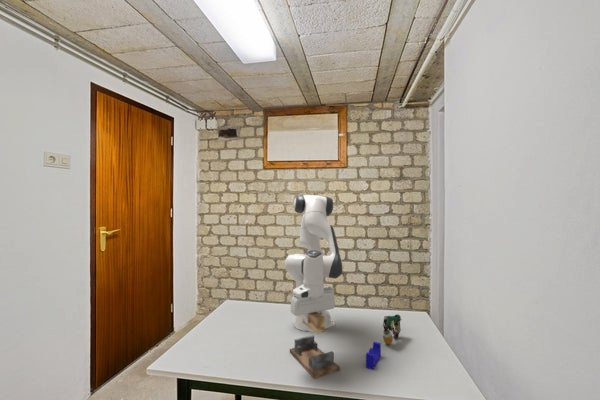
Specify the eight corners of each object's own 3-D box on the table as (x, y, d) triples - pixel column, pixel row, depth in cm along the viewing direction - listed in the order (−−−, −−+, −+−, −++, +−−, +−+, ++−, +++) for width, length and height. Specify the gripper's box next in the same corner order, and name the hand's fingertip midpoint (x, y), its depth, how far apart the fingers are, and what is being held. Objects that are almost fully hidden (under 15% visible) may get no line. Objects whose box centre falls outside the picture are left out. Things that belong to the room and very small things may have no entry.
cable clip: (370, 354, 134) (370, 340, 134) (380, 356, 132) (380, 343, 132) (362, 367, 124) (362, 353, 124) (373, 370, 122) (373, 355, 122)
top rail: (310, 320, 134) (310, 307, 134) (324, 331, 124) (324, 317, 124) (302, 322, 133) (302, 309, 133) (316, 333, 122) (316, 318, 122)
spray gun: (403, 336, 151) (404, 307, 150) (388, 350, 138) (388, 319, 137) (395, 333, 154) (395, 305, 152) (379, 347, 141) (379, 316, 140)
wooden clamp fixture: (312, 346, 141) (312, 332, 141) (339, 370, 121) (339, 354, 121) (289, 352, 135) (289, 337, 135) (313, 378, 116) (313, 361, 116)
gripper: (330, 284, 136) (329, 315, 136) (289, 290, 126) (288, 323, 126) (338, 288, 130) (337, 320, 130) (295, 295, 121) (295, 329, 121)
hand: (313, 321), depth 128 cm, fingers closed on top rail, 4 cm apart
